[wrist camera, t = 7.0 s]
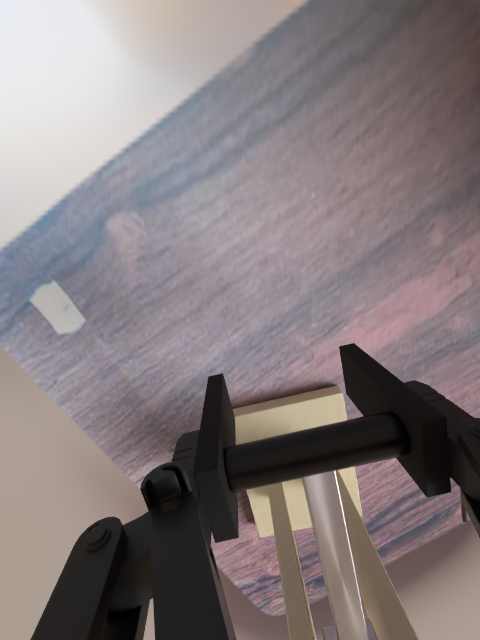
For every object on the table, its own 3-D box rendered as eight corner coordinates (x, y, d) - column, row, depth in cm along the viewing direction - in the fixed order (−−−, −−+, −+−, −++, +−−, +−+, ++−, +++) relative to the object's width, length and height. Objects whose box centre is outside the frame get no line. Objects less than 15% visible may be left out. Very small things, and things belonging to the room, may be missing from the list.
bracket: (226, 409, 23) (218, 672, 9) (337, 384, 23) (511, 614, 9) (258, 525, 26) (290, 860, 12) (357, 504, 26) (510, 821, 12)
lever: (224, 432, 11) (221, 476, 9) (378, 397, 11) (417, 433, 9) (291, 681, 14) (303, 768, 11) (419, 655, 13) (458, 739, 11)
